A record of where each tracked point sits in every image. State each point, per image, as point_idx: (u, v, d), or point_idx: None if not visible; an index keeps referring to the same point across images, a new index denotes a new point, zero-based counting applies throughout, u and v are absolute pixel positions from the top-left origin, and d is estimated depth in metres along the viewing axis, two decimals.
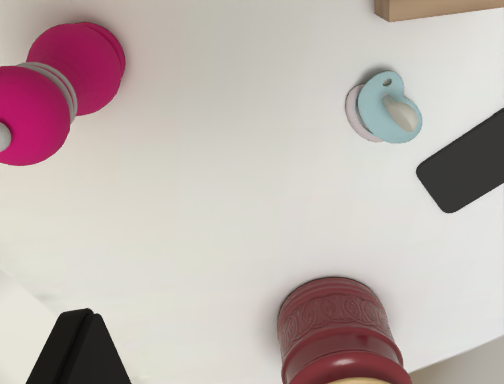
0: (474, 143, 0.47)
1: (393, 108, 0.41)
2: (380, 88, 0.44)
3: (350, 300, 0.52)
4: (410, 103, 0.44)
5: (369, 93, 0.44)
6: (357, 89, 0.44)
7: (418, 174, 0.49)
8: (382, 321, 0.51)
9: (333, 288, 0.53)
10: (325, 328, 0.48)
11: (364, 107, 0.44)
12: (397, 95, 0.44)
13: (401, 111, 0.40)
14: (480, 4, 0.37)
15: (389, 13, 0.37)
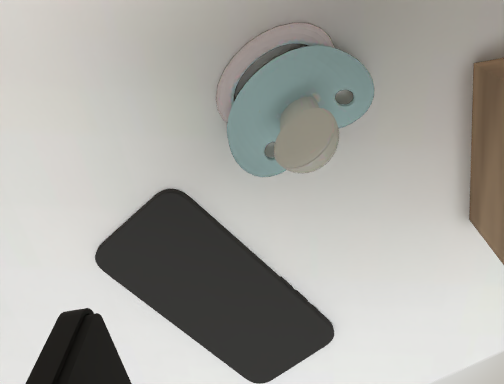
0: (233, 265, 0.28)
1: (327, 119, 0.19)
2: (332, 87, 0.22)
3: None
4: None
5: (324, 67, 0.22)
6: (326, 42, 0.22)
7: (163, 194, 0.26)
8: None
9: None
10: None
11: (294, 62, 0.22)
12: None
13: (331, 137, 0.19)
14: None
15: None
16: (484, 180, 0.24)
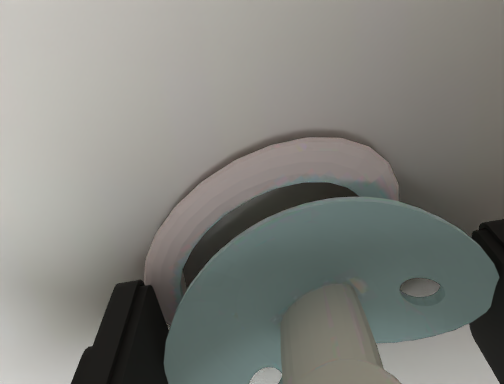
0: None
1: None
2: (395, 271, 0.10)
3: None
4: None
5: (380, 237, 0.09)
6: (382, 178, 0.10)
7: None
8: None
9: None
10: None
11: (311, 227, 0.09)
12: None
13: None
14: None
15: None
16: None
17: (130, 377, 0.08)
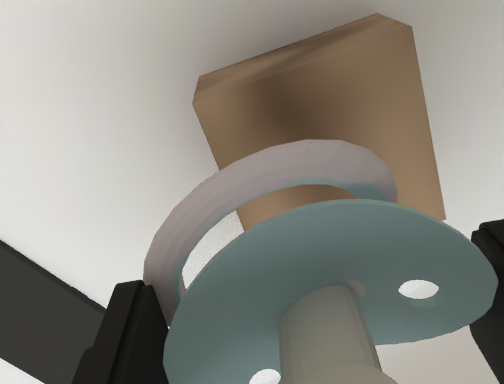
0: (17, 278, 0.28)
1: None
2: (394, 272, 0.10)
3: None
4: None
5: (379, 239, 0.09)
6: (380, 180, 0.10)
7: None
8: None
9: None
10: None
11: (309, 229, 0.09)
12: None
13: None
14: None
15: (207, 97, 0.19)
16: None
17: (130, 377, 0.08)
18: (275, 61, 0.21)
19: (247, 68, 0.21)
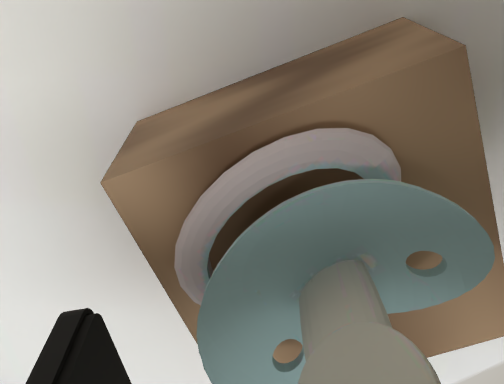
0: None
1: (420, 380, 0.08)
2: (401, 245, 0.11)
3: None
4: None
5: (385, 214, 0.11)
6: (385, 162, 0.11)
7: None
8: None
9: None
10: None
11: (323, 208, 0.11)
12: None
13: None
14: None
15: (124, 172, 0.12)
16: None
17: None
18: (240, 102, 0.13)
19: (200, 112, 0.14)
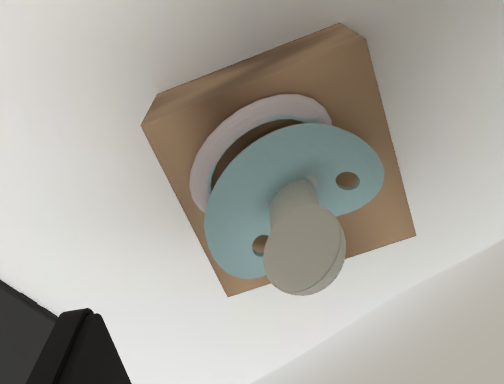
0: None
1: (330, 225, 0.15)
2: (331, 168, 0.18)
3: None
4: None
5: (320, 147, 0.17)
6: (321, 116, 0.18)
7: None
8: None
9: None
10: None
11: (282, 143, 0.17)
12: None
13: (336, 252, 0.14)
14: None
15: (156, 119, 0.18)
16: None
17: None
18: (230, 77, 0.20)
19: (202, 85, 0.21)
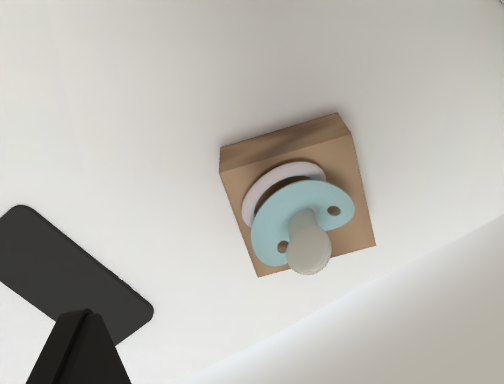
0: (71, 261, 0.39)
1: (323, 238, 0.28)
2: (325, 203, 0.31)
3: None
4: None
5: (319, 192, 0.31)
6: (319, 174, 0.31)
7: (15, 209, 0.37)
8: None
9: None
10: None
11: (297, 189, 0.31)
12: None
13: (326, 252, 0.28)
14: None
15: (228, 170, 0.32)
16: None
17: None
18: (270, 145, 0.33)
19: (252, 147, 0.34)
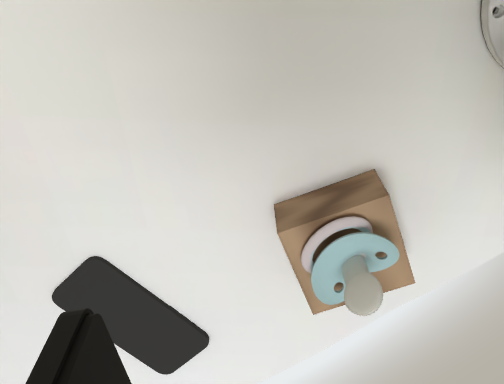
0: (138, 300, 0.45)
1: (375, 284, 0.34)
2: (373, 250, 0.37)
3: None
4: None
5: (367, 241, 0.36)
6: (366, 225, 0.36)
7: (90, 260, 0.43)
8: None
9: None
10: None
11: (349, 240, 0.36)
12: None
13: (379, 296, 0.33)
14: (311, 296, 0.40)
15: (285, 230, 0.37)
16: None
17: None
18: (318, 204, 0.39)
19: (302, 205, 0.39)
